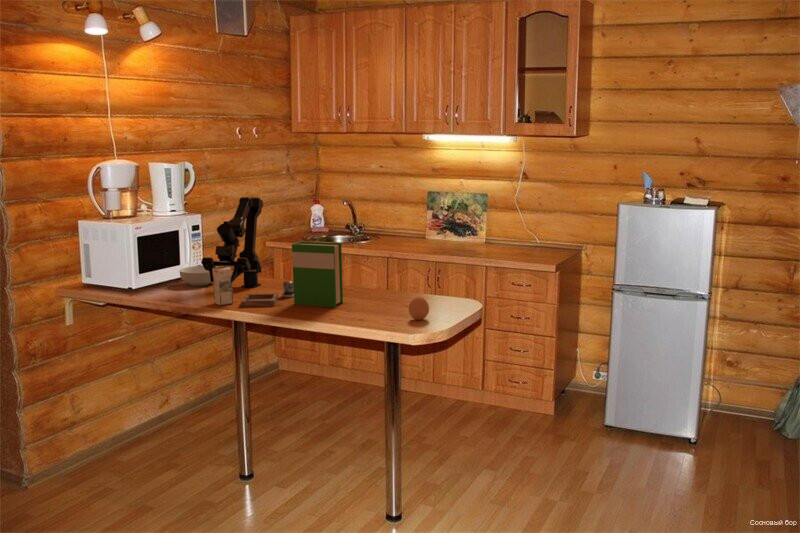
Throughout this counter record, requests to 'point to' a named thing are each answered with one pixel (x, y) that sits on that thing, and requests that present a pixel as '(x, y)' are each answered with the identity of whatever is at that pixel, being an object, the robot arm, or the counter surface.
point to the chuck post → (288, 289)
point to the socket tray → (259, 300)
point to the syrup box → (222, 285)
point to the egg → (418, 308)
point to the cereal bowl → (195, 275)
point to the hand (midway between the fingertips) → (221, 281)
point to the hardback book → (317, 273)
